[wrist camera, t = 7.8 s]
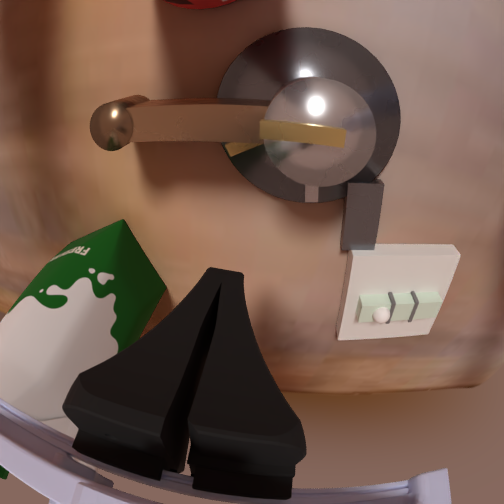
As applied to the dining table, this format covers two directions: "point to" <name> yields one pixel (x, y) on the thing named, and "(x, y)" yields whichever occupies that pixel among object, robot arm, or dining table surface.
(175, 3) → the canned food
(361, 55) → the dial base
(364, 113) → the round-headed metal tool
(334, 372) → the dining table surface
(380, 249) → the stand board
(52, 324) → the milk carton
